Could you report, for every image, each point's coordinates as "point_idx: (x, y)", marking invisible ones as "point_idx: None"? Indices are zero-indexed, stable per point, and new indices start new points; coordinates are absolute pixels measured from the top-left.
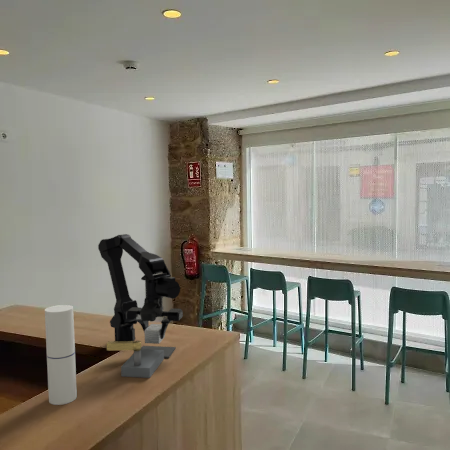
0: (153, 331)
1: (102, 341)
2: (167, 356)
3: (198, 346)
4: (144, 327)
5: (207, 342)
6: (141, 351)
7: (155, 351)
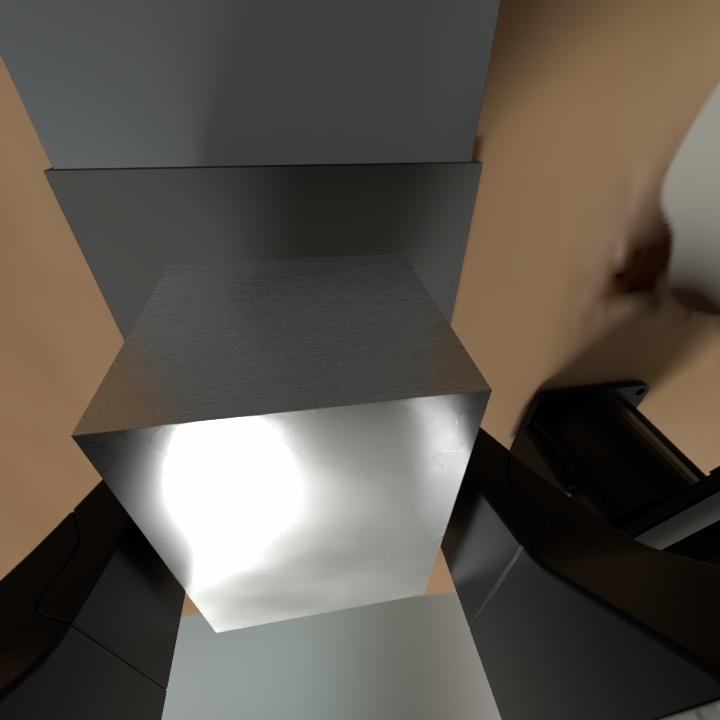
0: (242, 397)
1: (696, 398)
2: (67, 176)
3: (8, 470)
4: (507, 490)
5: (5, 527)
6: (397, 43)
7: (151, 71)
